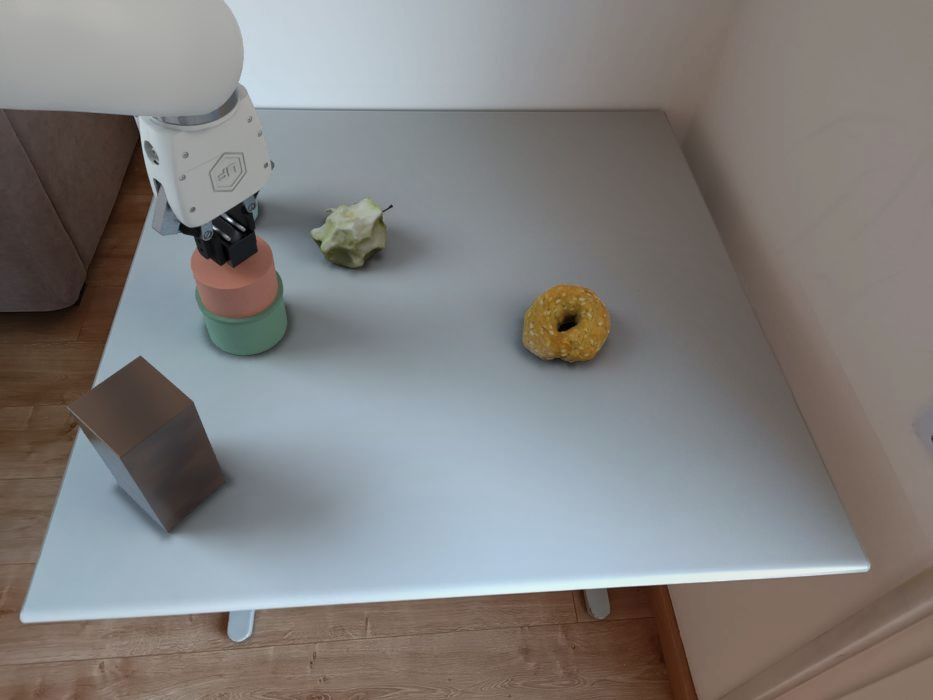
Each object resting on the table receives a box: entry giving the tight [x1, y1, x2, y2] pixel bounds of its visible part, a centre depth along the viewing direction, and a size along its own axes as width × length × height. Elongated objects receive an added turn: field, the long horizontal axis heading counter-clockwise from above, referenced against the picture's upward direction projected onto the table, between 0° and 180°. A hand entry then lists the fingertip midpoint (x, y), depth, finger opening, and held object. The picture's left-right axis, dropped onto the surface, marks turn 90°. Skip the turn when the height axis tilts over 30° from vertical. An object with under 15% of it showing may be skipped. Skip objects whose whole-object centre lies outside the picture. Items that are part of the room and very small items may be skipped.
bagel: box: [521, 283, 611, 363], centre depth 84 cm, size 10×11×5 cm
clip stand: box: [66, 355, 227, 533], centre depth 64 cm, size 7×7×15 cm
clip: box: [212, 212, 258, 268], centre depth 71 cm, size 3×5×3 cm, turn 51°
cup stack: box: [189, 234, 288, 356], centre depth 78 cm, size 9×9×11 cm
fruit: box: [310, 197, 394, 269], centre depth 88 cm, size 9×9×8 cm
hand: (229, 246), depth 72 cm, fingers closed on clip, 3 cm apart
